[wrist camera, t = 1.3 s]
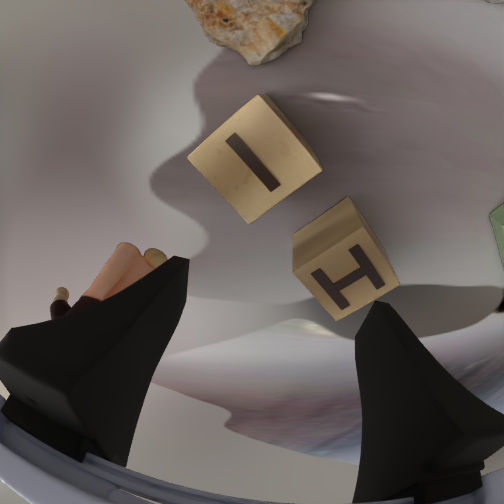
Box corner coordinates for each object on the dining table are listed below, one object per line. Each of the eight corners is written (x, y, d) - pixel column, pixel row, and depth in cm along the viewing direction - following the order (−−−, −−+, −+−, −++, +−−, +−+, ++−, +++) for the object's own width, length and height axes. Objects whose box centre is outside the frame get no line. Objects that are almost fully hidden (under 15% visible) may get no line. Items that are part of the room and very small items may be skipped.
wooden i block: (315, 151, 17) (323, 171, 13) (258, 194, 19) (248, 225, 15) (266, 93, 16) (258, 93, 12) (209, 141, 17) (185, 158, 13)
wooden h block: (382, 246, 19) (401, 285, 16) (329, 278, 21) (336, 322, 17) (348, 195, 18) (363, 227, 14) (292, 234, 20) (292, 273, 16)
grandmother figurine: (176, 238, 21) (85, 381, 10) (183, 282, 23) (116, 424, 12) (91, 235, 22) (-11, 342, 11) (103, 274, 24) (20, 385, 13)
